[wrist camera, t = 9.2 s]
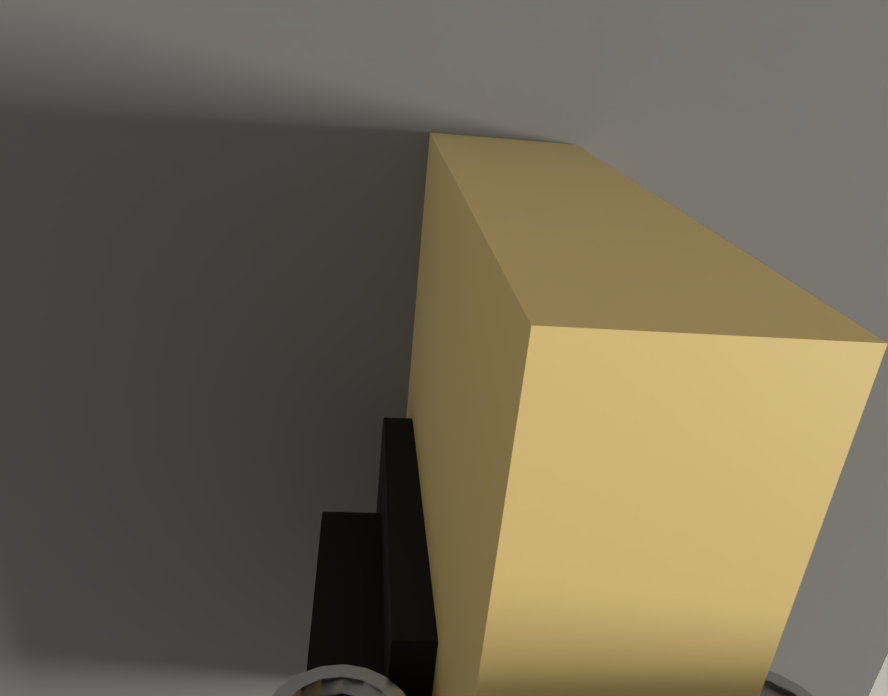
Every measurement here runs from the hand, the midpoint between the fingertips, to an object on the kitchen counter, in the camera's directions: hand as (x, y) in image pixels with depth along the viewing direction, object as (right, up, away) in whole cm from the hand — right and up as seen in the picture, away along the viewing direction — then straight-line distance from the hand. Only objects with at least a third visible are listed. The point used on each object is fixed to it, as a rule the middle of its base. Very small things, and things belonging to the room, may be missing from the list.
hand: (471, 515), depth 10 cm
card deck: (0, +1, 0) cm, 1 cm away
